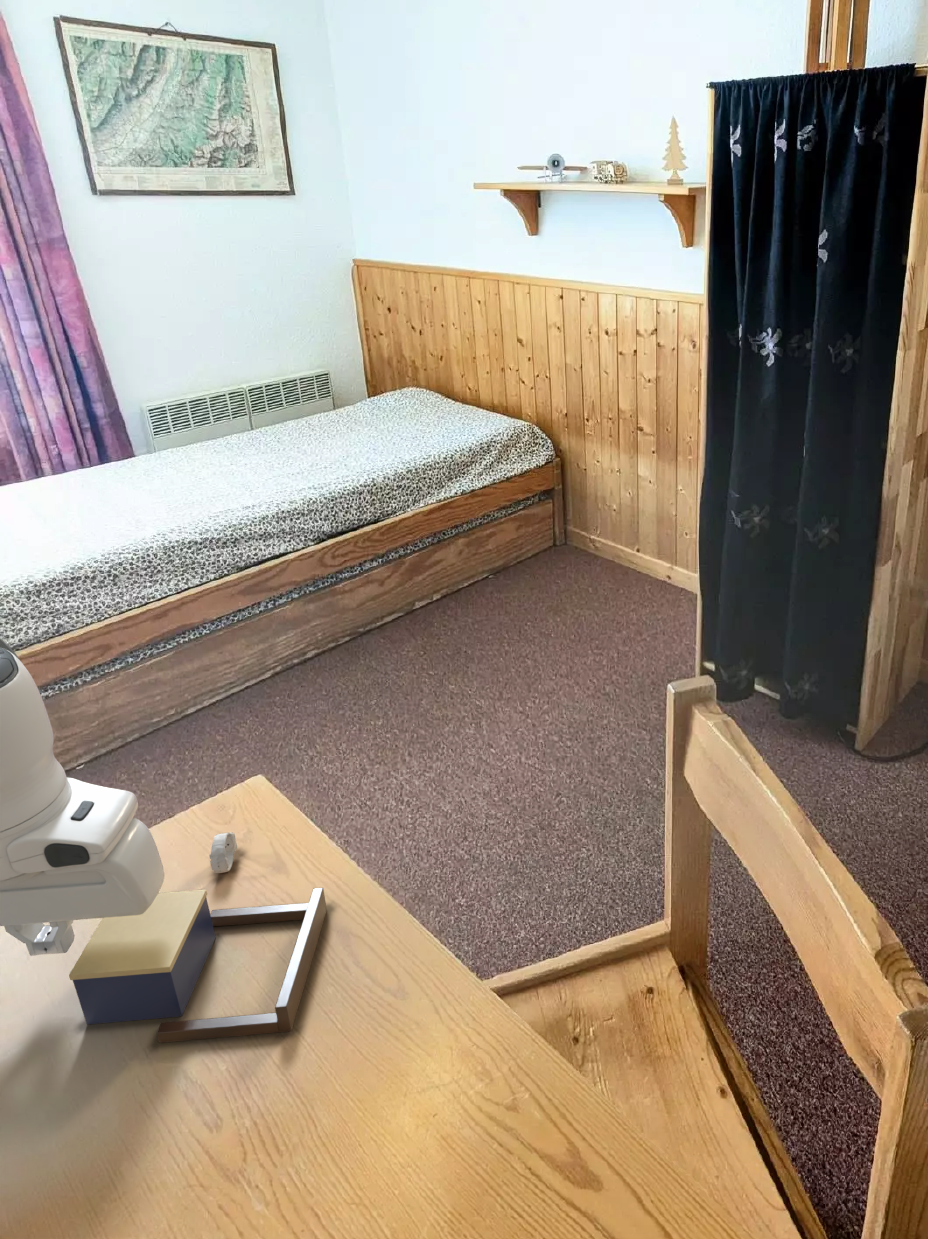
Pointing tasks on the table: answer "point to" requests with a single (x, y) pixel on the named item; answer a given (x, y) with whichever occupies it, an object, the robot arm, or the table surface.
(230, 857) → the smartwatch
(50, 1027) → the table surface
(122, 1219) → the table surface
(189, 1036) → the bay
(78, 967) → the toy box
